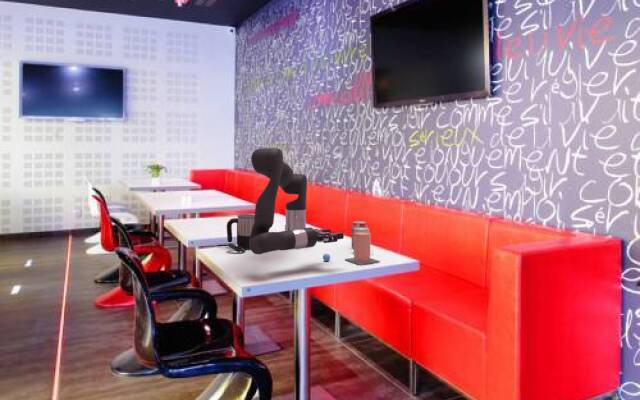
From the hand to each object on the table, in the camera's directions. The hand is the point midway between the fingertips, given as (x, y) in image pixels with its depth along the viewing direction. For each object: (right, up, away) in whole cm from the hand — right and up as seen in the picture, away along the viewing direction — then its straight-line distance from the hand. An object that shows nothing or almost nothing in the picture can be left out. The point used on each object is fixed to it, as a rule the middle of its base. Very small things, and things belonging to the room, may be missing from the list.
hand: (336, 233), depth 195 cm
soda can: (+11, -9, +33) cm, 36 cm away
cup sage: (+11, -10, +22) cm, 26 cm away
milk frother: (-40, -9, +26) cm, 49 cm away
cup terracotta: (+11, -11, +7) cm, 17 cm away
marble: (-4, -12, +7) cm, 14 cm away
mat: (+11, -12, +7) cm, 17 cm away
